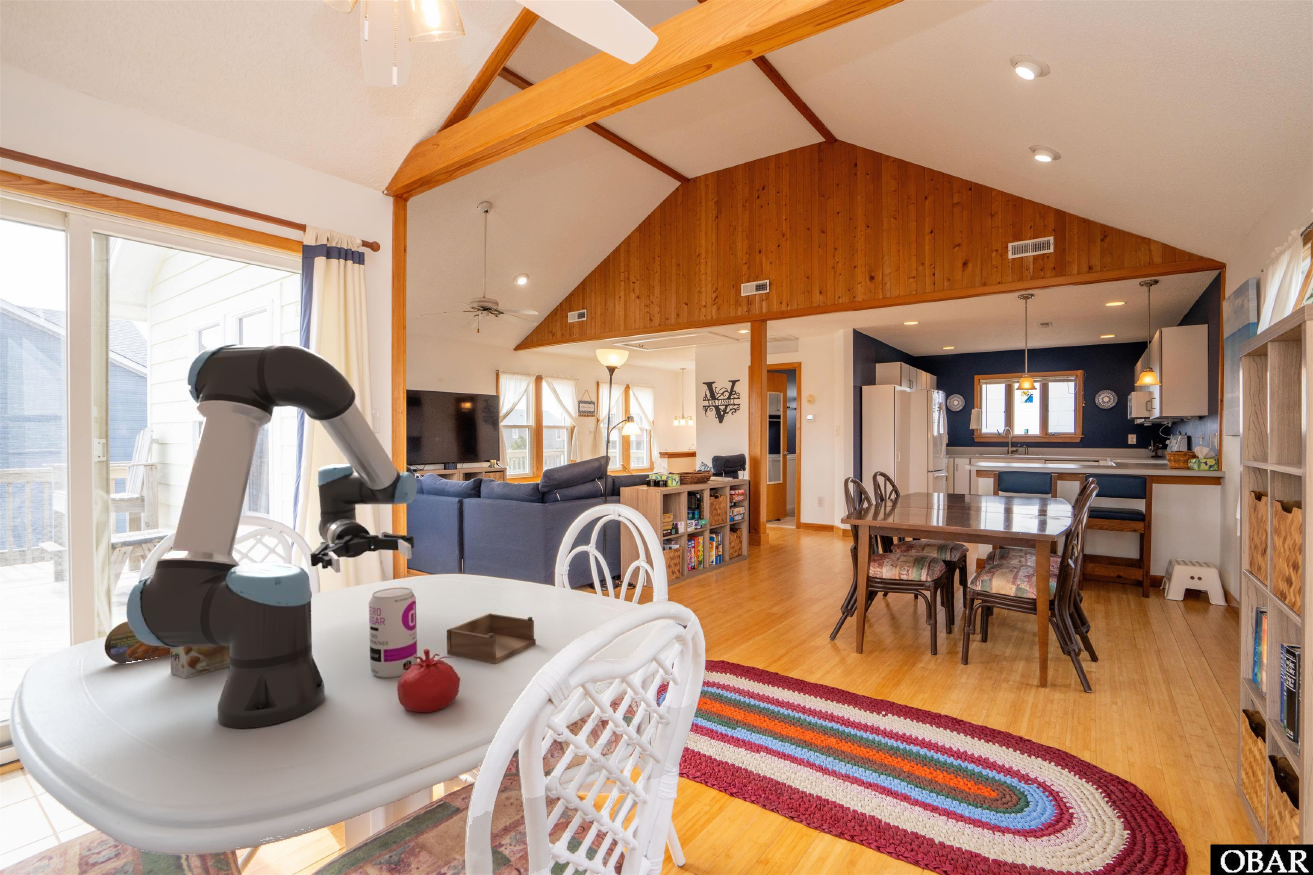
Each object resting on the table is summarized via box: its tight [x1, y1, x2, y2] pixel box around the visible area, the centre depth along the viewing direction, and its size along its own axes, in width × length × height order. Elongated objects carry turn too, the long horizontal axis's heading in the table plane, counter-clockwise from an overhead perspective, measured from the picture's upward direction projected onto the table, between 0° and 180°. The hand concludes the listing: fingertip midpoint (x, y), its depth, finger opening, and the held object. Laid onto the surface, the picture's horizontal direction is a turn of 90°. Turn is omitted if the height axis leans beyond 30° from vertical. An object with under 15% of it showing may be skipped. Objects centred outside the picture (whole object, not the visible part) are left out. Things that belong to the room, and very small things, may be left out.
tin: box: [104, 620, 170, 664], centre depth 130 cm, size 15×3×8 cm, turn 133°
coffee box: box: [169, 646, 230, 679], centre depth 123 cm, size 9×6×16 cm
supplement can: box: [368, 586, 418, 679], centre depth 120 cm, size 8×8×15 cm
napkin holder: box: [446, 612, 537, 665], centre depth 131 cm, size 13×13×6 cm
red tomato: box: [396, 648, 461, 714], centre depth 105 cm, size 10×10×9 cm
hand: (374, 558), depth 127 cm, fingers open, 13 cm apart
